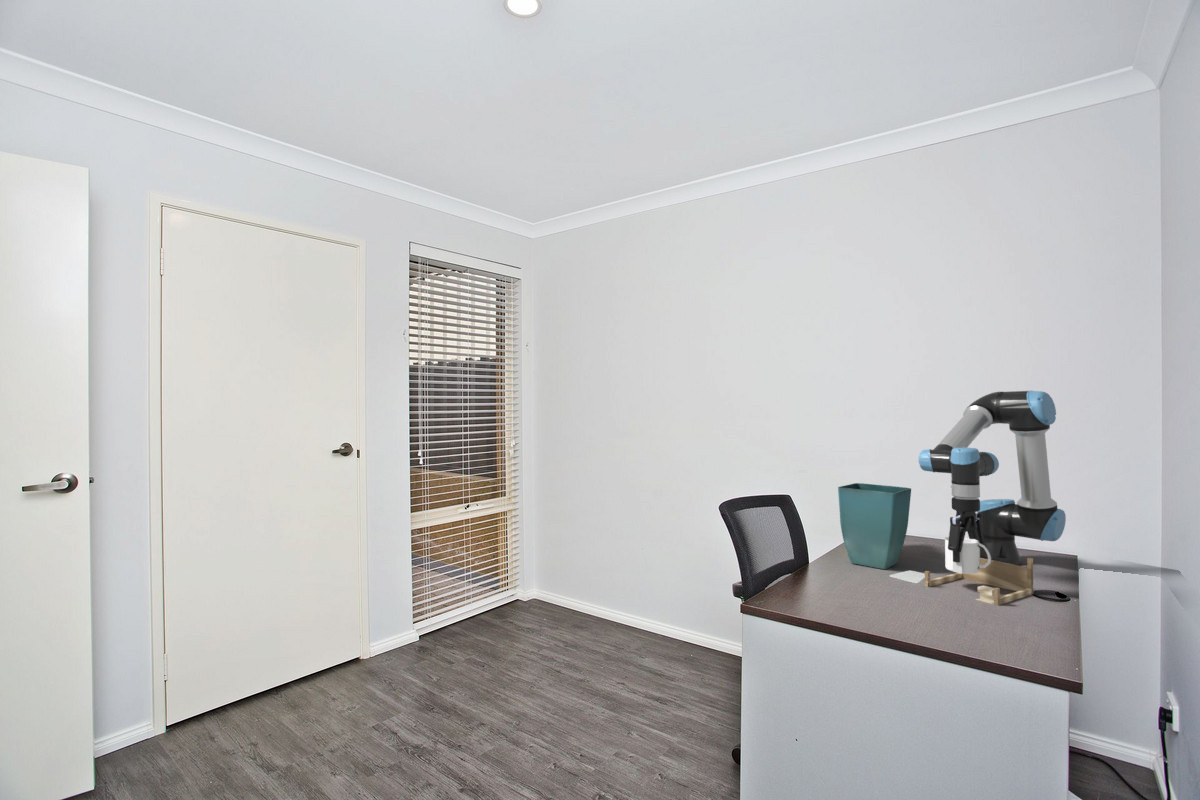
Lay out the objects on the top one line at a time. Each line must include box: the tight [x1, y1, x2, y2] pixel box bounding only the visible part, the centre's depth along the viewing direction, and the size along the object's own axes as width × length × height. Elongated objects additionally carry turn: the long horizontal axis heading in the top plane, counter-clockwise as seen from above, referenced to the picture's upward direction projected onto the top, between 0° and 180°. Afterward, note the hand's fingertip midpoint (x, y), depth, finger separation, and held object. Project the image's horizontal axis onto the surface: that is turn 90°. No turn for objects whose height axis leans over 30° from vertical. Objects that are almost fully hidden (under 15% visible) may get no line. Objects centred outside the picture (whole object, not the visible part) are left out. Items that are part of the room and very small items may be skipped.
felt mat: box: [889, 569, 925, 584], centre depth 199 cm, size 12×12×1 cm
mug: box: [944, 536, 991, 574], centre depth 184 cm, size 12×9×9 cm
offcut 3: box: [975, 597, 994, 605], centre depth 172 cm, size 5×4×2 cm
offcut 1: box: [977, 584, 995, 596], centre depth 172 cm, size 4×3×2 cm
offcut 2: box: [979, 593, 994, 604], centre depth 172 cm, size 4×4×2 cm
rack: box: [924, 557, 1034, 606], centre depth 182 cm, size 21×21×12 cm
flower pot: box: [837, 482, 912, 570], centre depth 218 cm, size 20×20×28 cm
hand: (966, 569), depth 183 cm, fingers closed on mug, 9 cm apart
